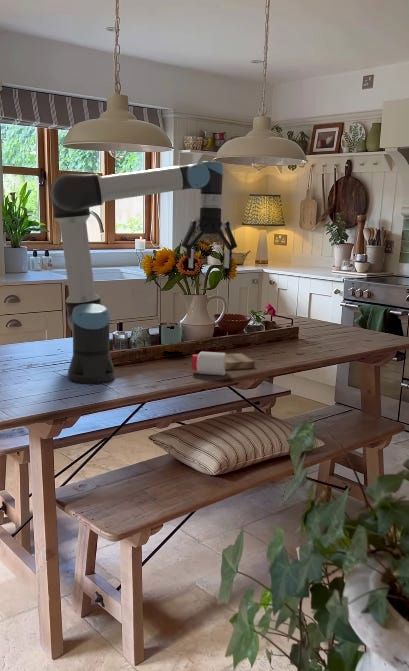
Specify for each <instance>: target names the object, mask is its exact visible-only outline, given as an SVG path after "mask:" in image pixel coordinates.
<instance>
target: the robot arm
mask: <svg viewBox="0 0 409 671" xmlns="http://www.w3.org/2000/svg"><path fill="white" fill-rule="evenodd" d="M223 167H224V166H223V163H222V162H221V161H218V160H217V161H216V160H215V161H214V160H204V161H202V162H201V163H199V162H195V163H190V164H185V165H178V164H176V165H169V166H168V167H162V168H154V169H153V168H152V169H147V170H138V171H131V172H130V171H129V172H124V173H116V174H115V173H114V174H108V175H100V174H98V173H92V174H90V173H89V174H77V173H74V174H73V173H67V174H62V175H60V176H58V177H56V178H55V179H54V180H53V181H52V183H51V184H50V187H49V198H50V201H51V205H52V210H53V211H52V212H53V218H54V219H53V220H55V221H56V222H58V223H59V227H60V228H59V229H60V236H61V242H62V249H63V258H64V265H65V271H66V278H67V280H66V281H67V288H68V294H69V295H68V296H67V298H66V300H65V305H66V306H65V307H66V312H67V313H66V322H67V326H68V328H69V329H70V330H71V332H72V357H71V361H70V364H69V367H68V368H67V369H68V370H67V379H68V380H69V381H70V382H73V383H78V384H87V385H88V384H100V383H101V384H103V383H108V382H110V381H112V380H114V379H115V378H116V375H115V374H116V370H115V367H114V364H113V361H112V358H111V355H110V321H111V316H110V310H109V308H108V307H106V306H105V305H103V304H102V301H101V296H100V295H99V294H97V293H96V288H95V282H94V275H93V267H92V266H93V265H92V257H91V251H90V250H91V249H90V243H89V235H88V226H87V221H88V219H89V218H90V216H91V213H90V208H93V207H98V206H103V205H104V203H105V202H109V201H114V200H115V201H116V200H123V199H129V198H136V197H143V196H144V197H145V196H149V195H150V196H151V195H155V194H163V193H170V192H176V191H177V192H178V191H185V190H191V189H192V190H193V189H196V190H200V193H199V194H200V196H199V197H200V200H199V201H200V203H199V205H200V206H201V207H200V209H199V221H196V220H190V226H189V229H188V230H187V233H186V234H185V236H184V238H183V240H182V243H181V246H180V247H182V248H185V250H186V251H185V252H186V256H185V257H186V259H188V268H189V269H194V249H192V248H193V247H194V246H195V245H196V244H197V243H198V241H199V240H200V239H201V238H202V236H204V234H205V235H216V236H218V239H219V240H221V242H222V243H223V244H224V246H225V249H224V263H223V266H224V268H225V269H229V268H230V259H232V254H233V250H234V249H235V248H237V247H238V245H237V242H236V240H235V237H234V235H233V232H232V229H231V227H230V226H231V225H230V221H225V220H224V221H222V208H221V207H222V204H223V201H222V198H223V177H224V170H223V169H224V168H223ZM198 226H199V228H200V229H199V230H197V233H196V234H195V235H194V232H195V230H196V228H197V227H198ZM221 228H224V231H225V233H226V236H227V238H228V239H227V238H226V236H225V235H224V234H223V231H221ZM193 235H194V236H193ZM192 236H193V238H192Z"/></svg>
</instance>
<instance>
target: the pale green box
mask: <svg viewBox="0 0 409 671" xmlns="http://www.w3.org/2000/svg"><path fill="white" fill-rule="evenodd" d="M171 326H174V329H170V328H167V327H171ZM160 329H161V334H160V338H161V340H160V341H161V345H162V344H170V343H178V342H181V343H182V326H181V325H178V324H164V325H161V328H160Z"/></svg>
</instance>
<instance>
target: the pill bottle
mask: <svg viewBox="0 0 409 671" xmlns="http://www.w3.org/2000/svg"><path fill="white" fill-rule="evenodd" d="M226 354H227V353H226V352H216V351H200V352H199V353H197V354H196V353H195V354H192V358H191V370H192V371H197V373H198V374H199V375H210V376H225V374H226V370H227V369H226ZM225 369H226V370H225Z"/></svg>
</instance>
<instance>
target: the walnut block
mask: <svg viewBox="0 0 409 671" xmlns="http://www.w3.org/2000/svg"><path fill="white" fill-rule="evenodd" d="M255 363H256V362H255V360H254V359H252V358H250V357H249V356H246V354H244V353H241V352H239V353H226V369H225V371H226V370H237V369H253V367H254V368H255Z"/></svg>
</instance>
